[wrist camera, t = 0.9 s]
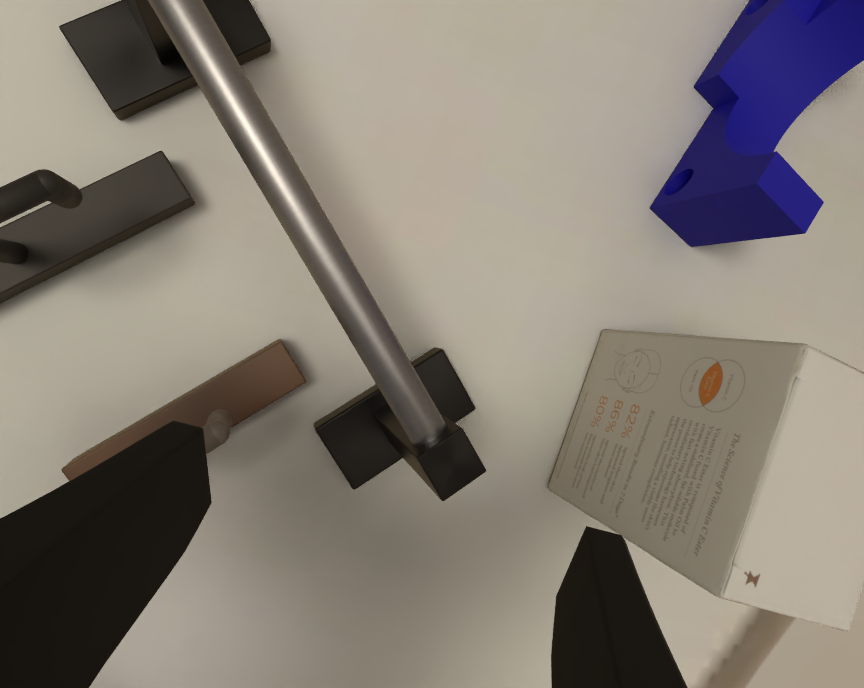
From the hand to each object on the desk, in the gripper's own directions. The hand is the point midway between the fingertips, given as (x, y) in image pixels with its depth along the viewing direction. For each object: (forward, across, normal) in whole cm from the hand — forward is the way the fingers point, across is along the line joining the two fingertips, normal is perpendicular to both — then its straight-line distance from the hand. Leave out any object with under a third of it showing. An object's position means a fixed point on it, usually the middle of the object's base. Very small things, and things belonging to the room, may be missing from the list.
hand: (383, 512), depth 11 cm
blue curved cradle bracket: (+24, -10, -4) cm, 27 cm away
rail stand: (+12, +7, +1) cm, 14 cm away
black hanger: (+9, +14, +1) cm, 16 cm away
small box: (+16, -8, +8) cm, 19 cm away
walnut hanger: (+8, +9, +7) cm, 14 cm away
